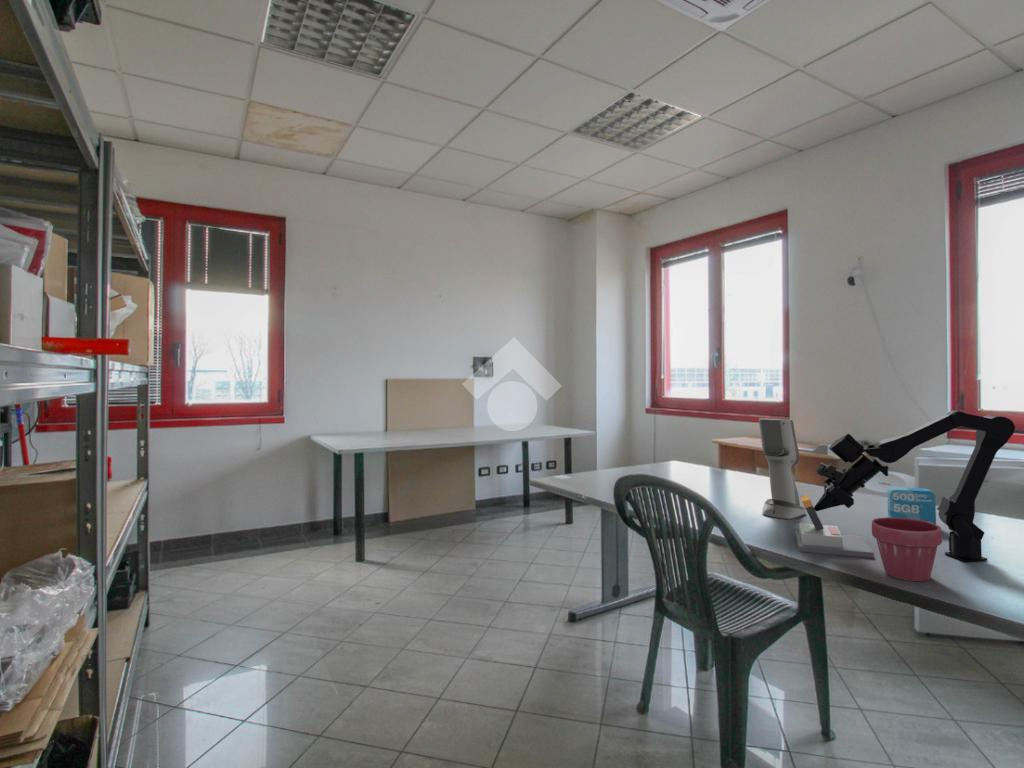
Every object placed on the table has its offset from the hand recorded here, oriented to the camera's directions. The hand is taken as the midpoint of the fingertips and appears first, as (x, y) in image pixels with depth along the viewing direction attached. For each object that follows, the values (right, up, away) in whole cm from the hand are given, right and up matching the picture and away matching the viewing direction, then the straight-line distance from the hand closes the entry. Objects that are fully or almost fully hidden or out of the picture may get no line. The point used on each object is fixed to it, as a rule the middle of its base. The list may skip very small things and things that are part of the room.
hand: (814, 509), depth 159 cm
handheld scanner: (+8, -10, +35) cm, 37 cm away
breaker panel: (+4, -10, -2) cm, 11 cm away
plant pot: (+9, -11, -25) cm, 28 cm away
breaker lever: (+1, -5, 0) cm, 5 cm away
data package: (+40, -9, +16) cm, 44 cm away
